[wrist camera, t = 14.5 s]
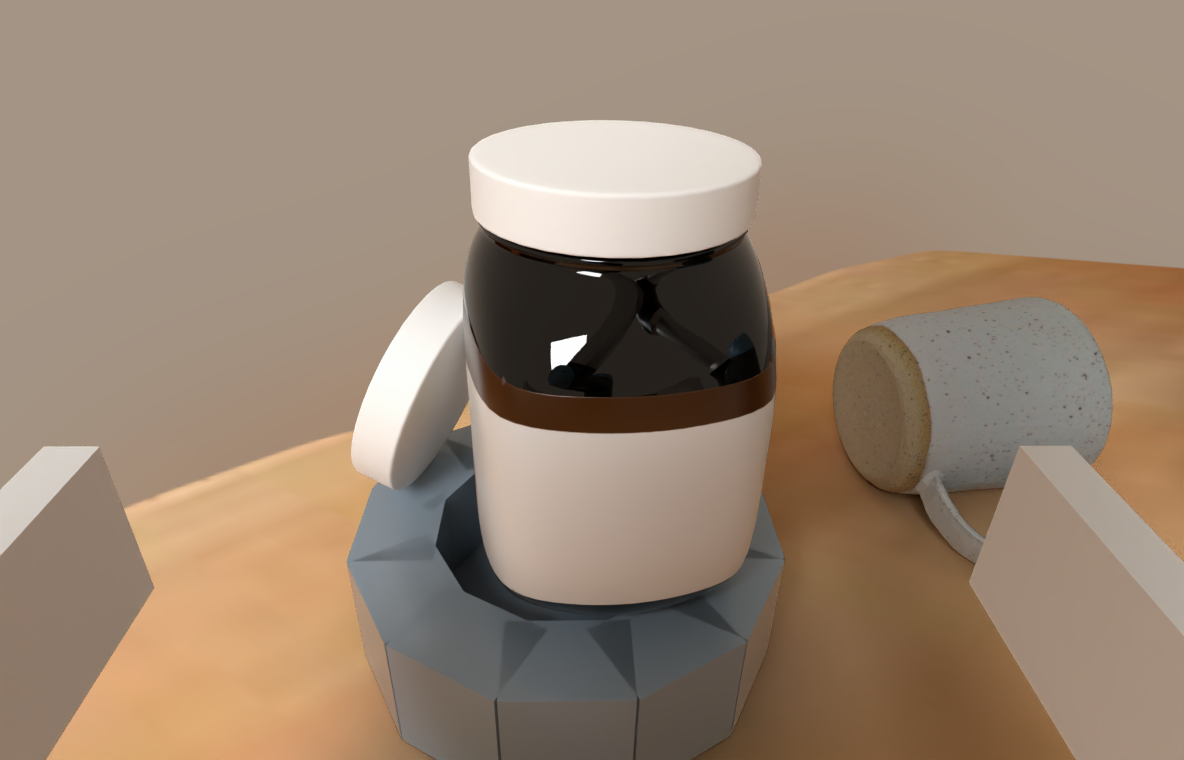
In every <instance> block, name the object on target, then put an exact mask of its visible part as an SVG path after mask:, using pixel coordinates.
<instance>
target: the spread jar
mask: <svg viewBox="0 0 1184 760" xmlns="http://www.w3.org/2000/svg"><path fill="white" fill-rule="evenodd" d="M761 169H762V162H761V157H760V156H759V155H758V154H757V152H756V151H755V150H754V149H753V148H751V147H750V146H748V145H746V144H744V143H743V142H741V141H738V140H736V139H733V138H730V137H728V136H725V135H721V134H717V133H714V132H710V131H706V130H701V129H696V128H691V127H685V126H678V125H671V124H664V123H652V122H641V121H620V120H586V121H565V122H553V123H544V124H537V125H530V126H524V127H519V128H515V129H510V130H506V131H503V132H500V133H497V134H494V135H491V136H489V137H487V138H485V139H483V140H481V141H479V142H478V143H477V144H476V145H475V146H473V147H472V149H471V151H470V154H469V171H470V186H471V201H472V211H473V214H474V217H475V219H476V220H477V221H478V223H479V226H478V228H477V230H476V231H475V234H474V236H473V238H472V241H471V243H470V247H469V251H468V255H467V259H466V263H465V272H464V281H463V285H462V284H460V283H458V282H456V281H446V282H444V283H443V284H441V285H439V286H437V287H436V288H435V289H434V290H432V291H431V292H430V293H429V294H428V295H427V296H426V297H425V298H424V299H423V300H422V301H421V302H420V303H419V304H418V305H417V307H416V308H415V309H414V310H413V312H412V313H411V314H410V316H409V317H408V318H407V319H406V321H405V322H404V324H403V325H402V327H401V328H400V330H399V331H398V333H397V334H396V336H395V338H394V339H393V341H392V342H391V344H390V346H389V348H388V349H387V351H386V353H385V355H384V356H383V358H382V360H381V362H380V364H379V366H378V368H377V370H376V372H375V374H374V376H373V379H372V381H371V383H370V385H369V387H368V390H367V393H366V395H365V398H364V400H363V403H362V405H361V408H360V412H359V415H358V418H357V422H356V425H355V429H354V434H353V439H352V450H351V458H352V463H353V466H354V468H355V469H356V470H357V472H359V473H361V474H363V475H365V476H367V477H369V478H371V479H373V480H375V481H377V482H379V483H381V484H383V485H385V486H387V487H389V488H391V489H393V490H397V491H399V490H402V489H404V488H407V487H408V486H409V485H411V484H412V483H413V482H414V481H415V480H416V479H417V478H418V477H419V476H420V475H421V474H422V473H423V472H424V471H425V469H426V468H427V467H428V466H429V464H430V463H431V462H432V461H433V459H434V458H435V456H436V455H437V454H438V452H439V451H440V449H441V448H442V446H443V445H444V443H445V442H446V440H447V438H448V437H449V435H450V434H451V432H452V430H453V428H454V427H455V425H456V423H457V421H458V420H459V418H460V416H461V414H462V412H463V410H464V408H465V406H466V404H467V402H468V400H469V407H470V418H471V432H472V446H473V460H474V474H475V486H476V497H477V507H478V514H479V522H480V529H481V535H482V539H483V544H484V547H485V551H486V554H487V557H488V559H489V562H490V565H491V567H492V569H493V571H494V573H495V575H496V577H497V578H498V580H499V582H500V583H501V584H502V585H503V586H504V587H505V589H506V590H507V591H509V592H510V593H511V594H513V595H514V596H515V597H517V598H519V599H522V600H524V601H526V602H528V603H531V604H534V605H537V606H540V607H543V608H547V609H551V610H556V611H562V612H568V613H577V614H590V615H617V614H630V613H638V612H645V611H650V610H655V609H660V608H664V607H668V606H672V605H675V604H678V603H681V602H684V601H687V600H689V599H692V598H694V597H697V596H700V595H703V594H705V593H707V592H709V591H712V590H714V589H716V588H717V587H719V586H720V585H722V584H724V583H725V582H726V581H727V580H728V579H730V578H731V577H732V576H733V575H734V574H735V573H736V572H737V571H738V570H740V568H741V566H742V564H743V562H744V560H745V558H746V556H747V553H748V550H749V547H750V544H751V540H752V536H753V532H754V528H755V524H756V519H757V513H758V508H759V502H760V497H761V491H762V484H763V478H764V472H765V466H766V460H767V454H768V448H769V442H770V436H771V429H772V422H773V415H774V405H775V392H776V338H775V331H774V325H773V319H772V312H771V306H770V300H769V296H768V291H767V287H766V284H765V280H764V276H763V273H762V269H761V266H760V262H759V260H758V257H757V255H756V252H755V250H754V246H753V244H752V242H751V240H750V237H749V235H748V233H747V232H748V229H750V227H751V225H752V223H753V221H754V220H755V215H756V207H757V200H758V191H759V184H760V177H761Z"/></svg>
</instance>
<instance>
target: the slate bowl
mask: <svg viewBox="0 0 1184 760" xmlns="http://www.w3.org/2000/svg"><path fill="white" fill-rule="evenodd" d="M784 562H785V557H784V554H783V551H782V548H781V546H780V543H779V540H778V537H777V534H776V531H775V528H774V525H773V522H772V519H771V516H770V513H769V510H768V507H767V504H766V501H765V499H764V496H763V493H762V491H761V497H760V502H759V508H758V513H757V519H756V524H755V528H754V532H753V536H752V540H751V544H750V547H749V550H748V553H747V556H746V558H745V560H744V562H743V564H742V566H741V568H740V570H738V571H737V572H736V573H735V574H734V575H733V576H732V577H731V578H730V579H728V580H727V581H726V582H725V583H724V584H722V585H720V586H719V587H717V588H716V589H714V590H712V591H709V592H707V593H705V594H703V595H700V596H697V597H694V598H692V599H689V600H687V601H684V602H681V603H678V604H675V605H672V606H668V607H664V608H660V609H655V610H650V611H645V612H638V613H630V614H617V615H590V614H577V613H568V612H562V611H556V610H551V609H547V608H543V607H540V606H537V605H534V604H531V603H528V602H526V601H524V600H522V599H519V598H517V597H515V596H514V595H513V594H511V593H510V592H509V591H507V590H506V589H505V587H504V586H503V585H502V584H501V583H500V582H499V580H498V578H497V577H496V575H495V573H494V571H493V569H492V567H491V565H490V562H489V559H488V557H487V554H486V551H485V547H484V544H483V539H482V535H481V529H480V522H479V514H478V507H477V497H476V486H475V474H474V460H473V446H472V432H471V425H470V426H467V427H464V428H460V429H457V430H454V431H452V432H451V434H450V435H449V437H448V438H447V440H446V442H445V443H444V445H443V446H442V448H441V449H440V451H439V452H438V454H437V455H436V456H435V458H434V459H433V461H432V462H431V463H430V464H429V466H428V467H427V468H426V469H425V471H424V472H423V473H422V474H421V475H420V476H419V477H418V478H417V479H416V480H415V481H414V482H413V483H412V484H411V485H409V486H408V487H407V488H404V489H402V490H399V491H397V490H393V489H391V488H389V487H387V486H385V485H383V484H381V483H377V484H376V485H375V486H374V488H372V491H371V494H370V496H369V499H368V502H367V505H366V508H365V511H364V513H363V516H362V519H361V522H360V525H359V528H358V531H357V533H356V536H355V539H354V542H353V545H352V548H351V550H350V553H349V556H348V559H347V567H348V572H349V577H350V582H351V587H352V591H353V596H354V601H355V606H356V611H357V616H358V621H359V626H360V631H361V636H362V641H363V646H364V651H365V655H366V658H367V660H368V662H369V665H370V667H371V669H372V672H373V674H374V676H375V679H376V681H377V683H378V686H379V688H380V690H381V692H382V695H383V697H384V699H385V702H386V704H387V706H388V709H389V711H390V713H391V716H392V718H393V720H394V723H395V725H396V727H397V730H398V732H399V734H400V737H401V738H403V741H405V742H407V743H408V744H410V745H412V746H414V747H415V748H417V749H419V750H421V751H422V752H424V753H426V754H428V755H429V756H431V757H433V758H434V759H436V760H691V759H693V758H695V757H696V756H698V755H700V754H701V753H703V752H705V751H706V750H708V749H709V748H711V747H713V746H714V745H716V744H718V743H719V742H721V741H723V740H724V739H726V738H728V737H729V736H730V734H732V732H733V730H734V727H735V725H736V723H737V720H738V718H739V716H740V713H741V711H742V709H743V706H744V704H745V701H746V699H747V697H748V694H749V692H750V690H751V687H752V685H753V683H754V680H755V678H756V676H757V673H758V671H759V669H760V666H761V664H762V662H763V659H764V657H765V654H766V652H767V648H768V643H769V638H770V633H771V628H772V623H773V618H774V613H775V608H776V603H777V598H778V593H779V588H780V582H781V577H782V572H783V567H784Z"/></svg>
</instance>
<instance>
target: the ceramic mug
mask: <svg viewBox="0 0 1184 760" xmlns="http://www.w3.org/2000/svg"><path fill="white" fill-rule="evenodd" d="M833 406H834V414H835V419H836V424H837V429H838V432H839V436H840V439H841V442H842V445H843V447H844V449H845V451H846V453H847V455H848V457H849V459H850V461H851V462H852V464H853V465H854V467H855V468H856V470H857V471H858V472H859V473H860V474H861V475H862V476H863V477H864V478H865V479H866V480H868V481H869V482H871V483H872V484H873V485H875V486H876V487H878V488H879V489H882V490H884V491H887V492H894V493H905V494H917V495H920V497H921V499H922V501H923V504H924V507H925V510H926V512H927V514H928V516H929V519H930V521H931V522H932V523H933V524H934V526H935V527H936V528H937V529H938V530H939V532H940V534H941V535H942V536H943V537H944V538H945V539H946V540H947V542H948V544H949V545H950V546H951V547H952V548H953V549H954V550H956V551H957V552H958V553H959V554H961V555H962V556H964V557H965V558H967V559H968V560H970V561H971V562H973V563H975V564H976V562H977V559H978V556H979V554H980V551H981V548H982V546H983V543H984V540H985V537H983V536H981V535H980V534H978V533H977V532H976V531H975V530H974V529H973V528H972V527H971V526H970V525H969V524H968V523H967V522H966V521H965V520H964V519H963V518H962V516H961V515H960V513H959V511H958V510H957V508H956V507H955V505H954V504H953V502H952V501H951V500H950V498H949V497H948V492H955V491H964V490H975V489H992V488H1004V487H1005V484H1006V481H1007V478H1008V476H1009V473H1010V470H1011V468H1012V465H1013V462H1014V460H1015V457H1016V454H1017V452H1018V449H1019V446H1072V447H1073V448H1074V449H1075V450H1076V451H1077V452H1078V453H1079V454H1080V455H1081V456H1082V457H1083V458H1084V459H1085V460H1086V461H1087V462H1088V463H1089V464H1090V465H1092V464H1093V463H1094V462H1095V460H1096V459H1097V457H1098V456H1099V454H1100V453H1101V451H1102V449H1103V447H1104V445H1105V443H1106V440H1107V437H1108V434H1109V430H1110V427H1111V420H1112V407H1113V405H1112V387H1111V383H1110V377H1109V373H1108V370H1107V367H1106V364H1105V361H1104V358H1103V355H1102V353H1101V351H1100V349H1099V347H1098V345H1097V343H1096V341H1095V339H1094V338H1093V336H1092V334H1091V332H1090V331H1089V329H1088V328H1087V327H1086V325H1085V324H1084V323H1083V322H1082V321H1081V320H1080V319H1079V318H1078V317H1077V316H1076V315H1075V314H1073V313H1072V312H1070V310H1069V309H1067V308H1066V307H1064V306H1063V305H1061V304H1059V303H1056V302H1054V301H1051V300H1048V299H1044V298H1039V297H1026V298H1017V299H1011V300H1006V301H1000V302H994V303H988V304H982V305H975V306H968V307H962V308H955V309H949V310H944V311H939V312H931V313H923V314H914V315H907V316H901V317H897V318H893V319H889V320H886V321H883V322H880V323H877V324H874V325H871V326H869V327H866V328H864V329H862V330H859V331H858V332H857V333H856V334H854V335H853V336H852V337H851V338H850V339H849V340H848V342H847V343H846V345H845V346H844V347H843V349H842V352H841V354H840V356H839V359H838V362H837V365H836V368H835V374H834V381H833Z"/></svg>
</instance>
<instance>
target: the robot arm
mask: <svg viewBox="0 0 1184 760" xmlns="http://www.w3.org/2000/svg"><path fill="white" fill-rule="evenodd" d="M969 584H970V586H971V588H972V589H973V591H974V593H975V594H976V596H977V598H978V599H979V601H980V603H981V604H982V606H983V608H984V609H985V611H986V613H987V614H988V616H989V618H990V619H991V621H992V622H993V624H994V626H995V627H996V629H997V631H998V632H999V634H1000V636H1001V637H1002V639H1003V641H1004V642H1005V644H1006V646H1007V647H1008V649H1009V651H1010V652H1011V654H1012V656H1013V657H1014V659H1015V661H1016V662H1017V664H1018V665H1019V667H1020V669H1021V670H1022V672H1023V674H1024V675H1025V677H1026V679H1027V680H1028V682H1029V684H1030V685H1031V687H1032V689H1033V690H1034V692H1035V694H1036V695H1037V697H1038V699H1039V700H1040V702H1041V704H1042V705H1043V707H1044V708H1045V710H1046V712H1047V713H1048V715H1049V717H1050V718H1051V720H1052V722H1053V723H1054V725H1055V727H1056V728H1057V730H1058V732H1059V733H1060V735H1061V737H1062V738H1063V740H1064V742H1065V743H1066V745H1067V746H1068V748H1069V750H1070V751H1071V753H1072V755H1073V756H1074V758H1075V760H1184V562H1183V561H1182V560H1181V559H1180V558H1179V557H1178V556H1177V555H1176V554H1175V553H1174V552H1173V551H1172V550H1171V549H1170V547H1169V546H1168V545H1167V544H1166V543H1165V542H1164V541H1163V540H1162V539H1161V538H1160V537H1159V536H1158V535H1157V534H1156V533H1155V532H1154V531H1153V530H1152V529H1151V528H1150V527H1149V526H1148V525H1147V524H1146V523H1145V522H1144V520H1143V519H1142V518H1141V517H1140V516H1139V515H1138V514H1137V513H1136V512H1135V511H1134V510H1133V509H1132V508H1131V507H1130V506H1129V505H1128V504H1127V503H1126V502H1125V501H1124V500H1123V499H1122V498H1121V497H1120V496H1119V495H1118V493H1117V492H1116V491H1115V490H1114V489H1113V488H1112V487H1111V486H1110V485H1109V484H1108V483H1107V482H1106V481H1105V480H1104V479H1103V478H1102V477H1101V476H1100V475H1099V474H1098V473H1097V472H1096V471H1095V470H1094V469H1093V468H1092V466H1091V465H1090V464H1089V463H1088V462H1087V461H1086V460H1085V459H1084V458H1083V457H1082V456H1081V455H1080V454H1079V453H1078V452H1077V451H1076V450H1075V449H1074V448H1073V447H1072V446H1019V449H1018V452H1017V454H1016V457H1015V460H1014V462H1013V465H1012V468H1011V470H1010V473H1009V476H1008V478H1007V481H1006V484H1005V487H1004V489H1003V492H1002V495H1001V497H1000V500H999V503H998V505H997V508H996V511H995V513H994V516H993V519H992V521H991V524H990V527H989V530H988V532H987V535H986V538H985V540H984V543H983V546H982V548H981V551H980V554H979V556H978V559H977V562H976V564H975V567H974V570H973V573H972V575H971V578H970V581H969ZM153 589H154V586H153V583H152V581H151V578H150V575H149V573H148V570H147V568H146V565H145V562H144V560H143V557H142V555H141V552H140V550H139V547H138V544H137V542H136V539H135V537H134V534H133V532H132V529H131V526H130V524H129V521H128V519H127V516H126V513H125V511H124V508H123V506H122V503H121V501H120V498H119V496H118V493H117V490H116V488H115V485H114V483H113V480H112V477H111V475H110V472H109V470H108V467H107V464H106V462H105V460H104V457H103V454H102V452H101V449H100V447H43V448H42V449H41V450H40V451H39V452H38V453H37V454H36V455H35V456H34V457H33V458H32V459H31V460H30V461H29V462H28V463H27V464H26V465H25V466H24V467H23V468H22V469H21V470H20V471H19V472H18V473H17V474H16V475H15V476H14V477H13V478H12V479H11V480H10V481H9V482H7V483H6V484H5V486H3V488H1V489H0V760H46V759H47V757H48V756H49V754H50V752H51V751H52V749H53V748H54V746H55V744H56V743H57V741H58V740H59V738H60V737H61V735H62V733H63V732H64V730H65V729H66V727H67V725H68V724H69V722H70V721H71V719H72V717H73V716H74V714H75V713H76V711H77V710H78V708H79V706H80V705H81V703H82V702H83V700H84V698H85V697H86V695H87V694H88V692H89V691H90V689H91V687H92V686H93V684H94V683H95V681H96V679H97V678H98V676H99V675H100V673H101V672H102V670H103V668H104V667H105V665H106V664H107V662H108V660H109V659H110V657H111V656H112V654H113V653H114V651H115V649H116V648H117V646H118V645H119V643H120V641H121V640H122V638H123V637H124V635H125V634H126V632H127V630H128V629H129V627H130V626H131V624H132V622H133V621H134V619H135V618H136V616H137V615H138V613H139V611H140V610H141V608H142V607H143V605H144V603H145V602H146V600H147V599H148V597H149V595H150V594H151V592H152V591H153Z"/></svg>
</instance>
